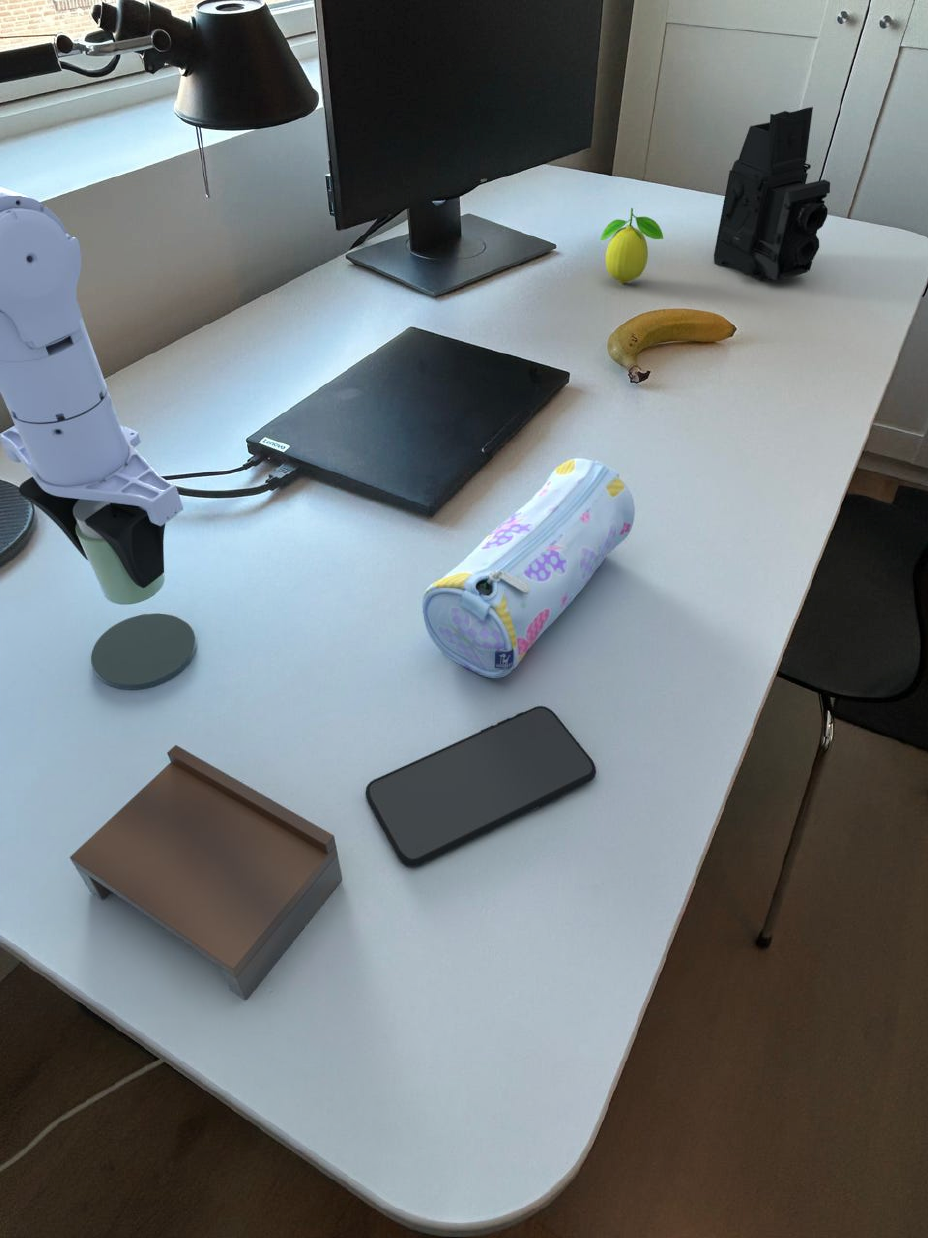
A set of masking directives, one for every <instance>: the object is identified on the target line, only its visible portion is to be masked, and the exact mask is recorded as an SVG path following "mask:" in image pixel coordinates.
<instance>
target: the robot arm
mask: <svg viewBox="0 0 928 1238" xmlns="http://www.w3.org/2000/svg"><path fill="white" fill-rule="evenodd" d="M81 271H82V250H81V245H80V241H79V238H77V236H73V237H72V235H70V234H68V232H67V230H66V228H65V226H64V224H63V222H62V221H61V220H60V218H59V217H58V216H57V215H56V214H55V213H54V212H53V210H52V209H51V208H49V207H47V206H44V205H43V204H42V202H40V201H39V200H38V199H37V200H36V199H34V198H32V197H29V196H26V195H23V194H21V193H18V192H14V191H12V190H9V189H6V188H3V187H1V186H0V395H1V397H2V399H3V401H4V403H5V406H6V408H7V410H8V413H9V415H10V417H11V419H12V421H13V424H14V425H13V426H12V427H10V428H8V429H6V430H5V431H3V432H1V433H0V444H1V446H2V448H3V450H4V452H5V454H6V456H7V458H8V460H10V461H13V462H15V463H18V464H19V463H22V465H23V466H24V467H25V469H26V470H27V472H28V473H29V474H30V475H31V477H29V478H28V479H27V480H25V481H23V482H22V483H21V484H20V485H19V487H18V493H19V495H20V496H21V497H23V498H24V499H25V500H27V501H29V502H30V503H32V504H33V505H34V506H36V507H37V508H38V509H39V510H40V511H41V512H43V513H44V514H45V515H46V516H47V517H49V519H50V520H51V521H53V522H54V523H55V525H57V527H58V528H59V529H60V530H61V531H62V532H63V534H65V536H66V537H67V539H69V541H70V542H71V543H72V544H73V546H74V547H75V548H76V549H77V551H78V552H79V553H80V555H82V556H83V558H84V559H85V560H87V561H88V558H87V556H86V554H85V552H84V549H83V547H82V545H81V543H80V540H79V538H78V536H77V534H76V524H77V522H76V519H75V517H74V515H73V508H74V505H75V504H76V502H77V501H78V500H79V499H84V500H93V501H101V502H110V504H107V505H105V506H104V507H102V508H101V509H99V510H98V511H97V512H95V513H94V514H92V515H91V516H89V517H88V518H87V519H85V523H86V525H87V526H89V527H90V528H92V529H93V530H94V531H96V532H97V533H98V534H99V535H100V536H101V537H103V538H104V539H105V540H106V541H107V543H108V544H109V545H110V546H111V547H112V549H113V550H114V551H115V553H116V554H117V556H118V557H119V559H120V561H121V563H122V564H123V566H124V568H125V570H126V571H127V573H128V575H129V576H130V578H131V579H132V580H133V582H134V583H135V584H136V585H138V586H140V587H142V588H146V587H147V586H148V585H149V584H151V583H152V582H153V581H154V580H156V579H157V578H158V577H159V576H161V575H162V574H163V573H164V574H165V554H164V553H165V550H164V548H165V546H164V540H165V529H166V523H168V522H169V521H171V520H172V519H173V518H175V517H176V516H178V514H180V513H181V512H183V510H184V505H183V503H182V500H181V497H180V493H179V490H178V488H177V485H176V484H175V483H172V482H170V481H168V480H167V479H165V478H163V477H162V476H161V475H160V474H159V473H158V472H157V471H156V470H155V469H154V468H153V467H152V465H150V463H149V462H148V461H147V460H146V459H145V458H144V457H143V456H142V455H141V454H140V452H139V451H138V450H137V449H136V447H137V446H138V445H140V444H141V442H142V439H141V437H140V434H139V432H138V431H137V430H133V429H131V428H129V427H126V426H123V425H122V424H121V423H120V420H119V417H118V414H117V412H116V411H117V410H116V408H115V406H114V402H113V400H112V398H111V394H110V392H109V388H108V386H107V384H106V380H105V377H104V375H103V373H102V369H101V366H100V363H99V361H98V358H97V356H96V352H95V349H94V347H93V344H92V342H91V339H90V336H89V333H88V330H87V327H86V324H85V321H84V319H83V315H82V311H81V308H80V305H79V302H78V298H77V287H78V283H79V280H80V276H81Z"/></svg>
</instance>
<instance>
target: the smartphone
mask: <svg viewBox="0 0 928 1238" xmlns="http://www.w3.org/2000/svg"><path fill="white" fill-rule="evenodd" d="M596 774H597V767H596V764H595V762H594V760H593V758H591V757H590V755H589V754H588V753H587V751H586V750H585V749H584V748H583V747H582V745H581V744H580V743H579V742H578V740H577V739H576V738H575V737H574V735H573V733H571V732H570V730H569V729H568V728H567V727H566V725H565V724H564V723H563V722H562V720H561V719H560V718H559V717H558V716H557V714H556V713H555V712H554V711H553V710H552V709H551V708H548V707H547V706H544V705H537V706H534V707H532V708H530V709H527V710H525V711H521V712H519V713H517V714H515V715H514V716H512V717H508V718H505V719H504V720H501V721H498V722H497V723H496V724H492V725H490V726H487V727H486V728H484V729H481V730H480V731H478V732H476V733H474V734H472V735H470V736H467V737H466V738H462V739H461V740H459V741H456V742H454V743H452V744H449V745H447V746H445V747H443V748H441V749H439V750H437V751H435V752H432V753H430V754H428V755H425V756H423V757H421V758H419V759H417V760H415V761H412V762H410V763H408V764H405V765H403V766H401V767H399V768H397V769H394V770H393V771H390V772H388V773H385V774H383V775H381V776H379V777H377V778H375V779H373V780H371V781H370V782H369V783H368V784H367V785H366V787H365V798H366V801H367V803H368V805H369V807H370V809H371V810H372V812H373V814H374V816H375V818H376V819H377V821H378V823H379V825H380V827H381V829H382V831H383V833H384V835H385V836H386V838H387V839H388V841H389V844H390V845H391V847H392V849H393V851H394V852H395V854H396V856H397V858H398V859H399V860H400V861H401V862H402V863H403V864H404V865H406V866H407V867H410V868H413V867H414V868H415V867H419V866H422V865H424V864H426V863H428V862H430V861H432V860H434V859H436V858H438V857H440V856H443V855H444V854H446V853H448V852H451V851H452V850H455V849H456V848H458V847H461V846H463V845H465V844H466V843H469V842H471V841H472V840H475V839H477V838H479V837H481V836H483V835H485V834H487V833H489V832H491V831H493V830H495V829H497V828H499V827H501V826H503V825H505V824H507V823H509V822H511V821H513V820H516V819H517V818H520V817H521V816H523V815H525V814H527V813H530V812H531V811H533V810H535V809H537V808H542V807H544V806H546V805H548V804H549V803H552V802H554V801H556V800H558V799H560V798H561V797H562V796H564V795H566V794H568V793H569V792H572V791H574V790H576V789H578V788H580V787H582V786H584V785H586V784H588V783H590V782H592V781H593V780H594V778H595V777H596Z"/></svg>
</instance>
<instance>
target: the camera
mask: <svg viewBox="0 0 928 1238" xmlns="http://www.w3.org/2000/svg"><path fill="white" fill-rule="evenodd" d="M813 109H814V106H811V107H805V108H802V109H799V110H795V111H787V110H784V111H780V112H778V113H775V114H773V113H770V115H769V122H764V123H759V124H754V125H750V126H749V128H748V131H747V134H746V136H745V140H744V142H743V145H742V147H741V151H740V154H739V158H738V159H735V160H734V162H733V164H732V167H731V170H729V172H728V177H727V178H728V179H727V182H726V189H725V194H724V198H723V204H722V209H721V215H720V220H719V226H718V230H717V237H716V242H715V247H714V252H713V261H714V262H713V263H714V265H717V266H721V265H725V266H728V267H730V268H732V269H734V270H736V271H738V272H740V273H743V274H744V275H745V276H749V277H751V278H753V279H755V280H757V281H759V282H761V281H765V280H768V279H771V280H773V281H777V280H781V281H783V280H787V279H790V278H792V277H796V276H800V275H803V274H806V273H808V271H809V272H810V271H811V268H812V264H813V261H814V259H815V257H816V255H817V253H818V251H819V249H820V238H819V237H818V236H817V234H818V231H819V230H820V229H821V228H823V226H824V225H825V222H826V220H827V218H828V212H829V211H828V210H829V209H828V207H827V206H826V205H825V200H824V199H825V198H827V197H828V194H830V193H831V182H830V181H829V180H826V179H820V180H817V181H816V180H815V181H812V182H807V179H808V175H809V173H808V170H811V165H812V164H809V163H807V159H808V149H809V142H810V141H809V140H810V134H811V126H812V120H813V119H812V117H813Z"/></svg>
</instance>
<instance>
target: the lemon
mask: <svg viewBox="0 0 928 1238" xmlns="http://www.w3.org/2000/svg"><path fill="white" fill-rule="evenodd" d="M633 218H635V221H636V225H637V226H636V227H637V228H636V227H634V225H632V223H633ZM627 223H629V224H628V225H627V226H625V225H626V224H627ZM611 236H612V237H611ZM610 237H611V239H610V241H609V243H608V245H607V248H606V252H605V253H606V254H605V266H606V270H607V272H608V274H609V275H610V277H612V278H614V279H615V280H617V281H619V283H620V284H623V285H624V284H627V282H630V281H633V280H635V279H637V278H639V277H640V276H641V275H642V274H643V272H644V270H645V269H646V266H647V263H648V258H649V249H648V243H647V239H646V238H645V237H647V238H650V239H653V240H664V235H663V232H662V229H661V227H660V225H659V224H658V223H657V221H655V220H654V219H652V218H650V217H648V216H636V215H635V214H634V208H633V207H631V208H630V218H629V219H628V220H624V219H615V220H612V221H611V222H610V223H608V225H607V226H606V227H605V229H603V232H602V235H601V237H600V238H599V239H600V240H601V241H602V240H603V241H604V240H607V239H608V238H610Z"/></svg>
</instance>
